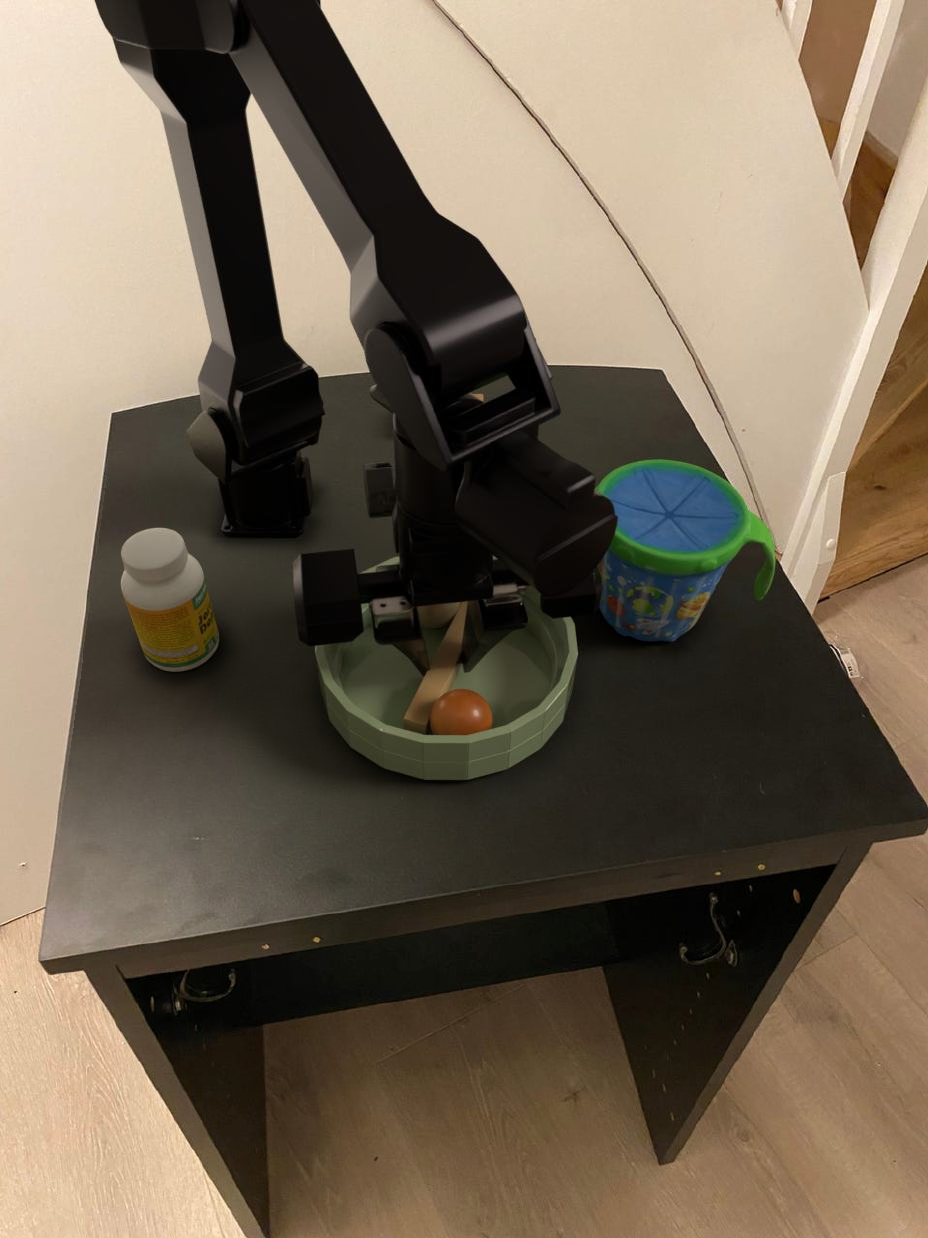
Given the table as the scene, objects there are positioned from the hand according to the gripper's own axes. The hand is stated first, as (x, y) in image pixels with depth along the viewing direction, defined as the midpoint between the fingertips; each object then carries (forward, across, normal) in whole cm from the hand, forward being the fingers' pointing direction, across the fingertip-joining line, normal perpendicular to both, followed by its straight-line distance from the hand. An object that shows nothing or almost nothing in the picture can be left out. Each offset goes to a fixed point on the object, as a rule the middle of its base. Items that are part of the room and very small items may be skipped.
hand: (445, 669), depth 65 cm
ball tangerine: (-1, 0, +6) cm, 6 cm away
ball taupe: (-1, 0, -5) cm, 6 cm away
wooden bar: (0, 0, 0) cm, 0 cm away
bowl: (+1, 0, 0) cm, 1 cm away
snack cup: (+1, -16, -4) cm, 17 cm away
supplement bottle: (+1, +18, -6) cm, 19 cm away
